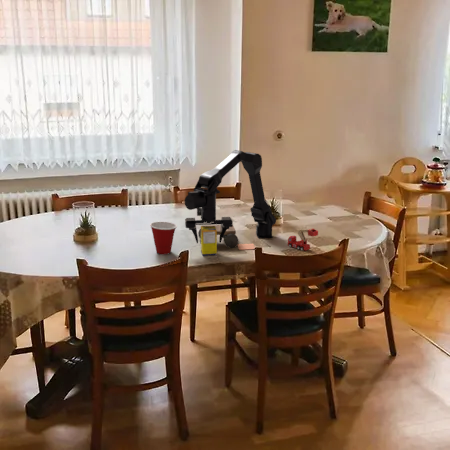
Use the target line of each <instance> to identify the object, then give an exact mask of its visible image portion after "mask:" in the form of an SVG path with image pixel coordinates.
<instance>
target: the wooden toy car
mask: <svg viewBox="0 0 450 450" xmlns="http://www.w3.org/2000/svg"><path fill="white" fill-rule="evenodd" d="M201 226H215V227H216V229H217V236H220V229H221V224H214V225H201ZM236 234H237V233H236V228H235V227H234V225H233V227H229V229H227V230H226V232H225V233H224V236H223V238H222V239H223V243H224V245H225V246H226V247H227V248H229V249H233V248H236V247H238V246H237V245H238V244H239V238H238V236H237V235H236ZM197 236H198V237H199V238H198V239H199V242H200V244H201V227H200V228H199V230H198V231H197Z"/></svg>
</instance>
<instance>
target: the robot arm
mask: <svg viewBox="0 0 450 450" xmlns="http://www.w3.org/2000/svg"><path fill="white" fill-rule="evenodd" d="M240 162H241V164H242V166H243V169H244V170H245V171H246V173H247V174H248V179H249V184H250V190H251V193H252V199H253V205H252V207H251V208H250V212H251V217H252V218H253V221H254V222H255V223H257V224H256V226H255V235H256V236H257V238H258V239H270V238H274V236H273V226H274V225H276V223H277V222H276V221H277V218H276V217H275V215H274V214H273V212H272V209H271V207H270V205H269V204H268V202H267V201H266V199H265V198H266V197H265V192H264V187H263V182H262V181H263V180H262V175H261V169H262V167H263V158H262V155H261V154H260V153H257V152H256V153H255V152H250V151H246V152H245V151H243V150H237V149H235V150H234V149H233V150H232V151H231V153H230V154H229V155H228V156H227V157H226V158H224V159H223V160H222V161H221V162H220V163H219V164H218V165H216V166H215V167H214V168H213V169H209V170H206V171H205V172H203V173H201V174H200V176H198V181H197V182H196V184H195V187H194V188H193V191H189V192H187V195H186V196H185V198H184V202H183V203H184V206H185V208H187V210H189V211H192V210H196V216H197V217H200V219H196V217H186V218H185V219H184V222H185V223H184V225H185V226H184V227H185V228H186V229H188V230H189V231H192V234H193V237H195V238H194V239H195V241H196V244H199V238H198V237H199V235H198V231H197V226H202V225H221V229H220V235H219V243H222V240H223V239H224V238H223V236H224V233H225V232H226V230H227V229H229V227H233V226H234V223H233V219H232V217H230V216H224V217H223V216H222V217H221V219H217V195H218V194H220V193H221V191H220V190H219V189H218V187H219V186H220V185H221V184H222V181H223V178H224V177H225V176H226V175H227V174H228V173H229V172H230V171H232V169H234V168H235V167H236V166H237V165H238V164H239V163H240Z"/></svg>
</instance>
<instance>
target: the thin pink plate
mask: <svg viewBox="0 0 450 450" xmlns="http://www.w3.org/2000/svg"><path fill="white" fill-rule="evenodd" d="M236 247H238V250H239V251H245V250H247V251H249V250H251V251H252V250H253V249H254V248H256V246H255V244H254V243H238V245H237V246H236Z"/></svg>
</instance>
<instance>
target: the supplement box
mask: <svg viewBox="0 0 450 450" xmlns="http://www.w3.org/2000/svg"><path fill="white" fill-rule="evenodd" d="M200 228H201V243H200V252H201V255H202V256H203V257H204V256H205V257H208V256H217V255H218V245H217V244H218V235H217V229H216V227H215V226H202V225H200Z"/></svg>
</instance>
